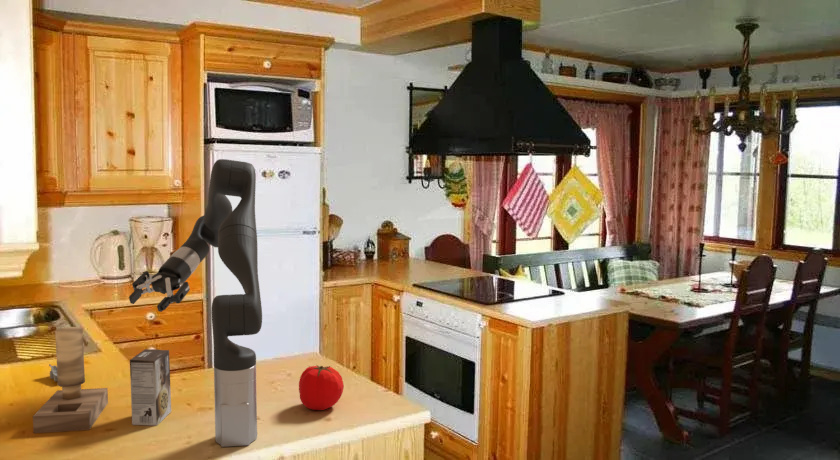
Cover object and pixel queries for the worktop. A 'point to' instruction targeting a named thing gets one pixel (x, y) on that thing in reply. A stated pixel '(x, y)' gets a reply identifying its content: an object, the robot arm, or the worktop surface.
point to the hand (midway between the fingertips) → (144, 305)
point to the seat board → (70, 411)
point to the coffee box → (150, 387)
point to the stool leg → (70, 361)
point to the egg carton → (53, 373)
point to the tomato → (320, 387)
